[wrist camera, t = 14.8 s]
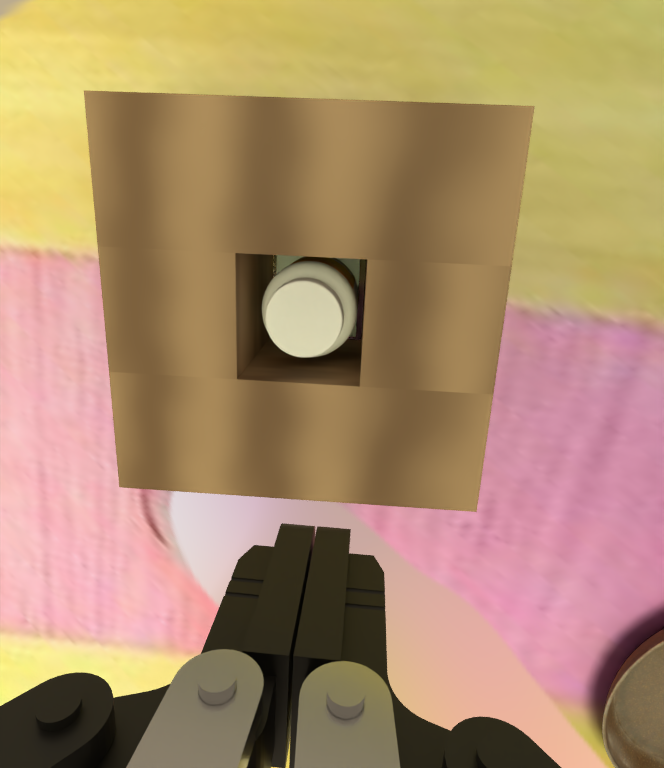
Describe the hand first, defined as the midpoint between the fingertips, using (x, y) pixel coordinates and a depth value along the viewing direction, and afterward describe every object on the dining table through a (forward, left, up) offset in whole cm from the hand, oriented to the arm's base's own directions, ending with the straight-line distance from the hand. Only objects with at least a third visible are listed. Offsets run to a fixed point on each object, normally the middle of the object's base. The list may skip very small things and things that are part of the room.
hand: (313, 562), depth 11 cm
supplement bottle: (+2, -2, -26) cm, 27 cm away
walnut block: (+2, -2, -27) cm, 27 cm away
